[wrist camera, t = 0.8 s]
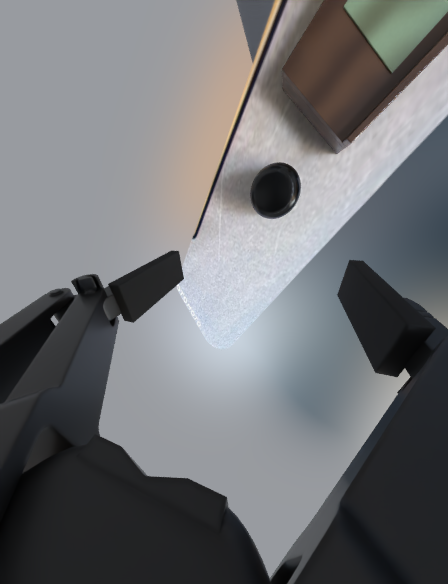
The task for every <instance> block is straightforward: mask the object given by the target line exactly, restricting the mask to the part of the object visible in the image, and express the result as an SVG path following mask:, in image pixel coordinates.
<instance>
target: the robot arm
mask: <svg viewBox="0 0 448 584" xmlns="http://www.w3.org/2000/svg"><path fill="white" fill-rule="evenodd" d="M183 279H184V277H183V272H182V266H181V261H180V255H179V251H170V252H168V253H167V254H165V255H162V256H160V257H159V258H157V259H155V260H153V261H151V262H149V263H147V264H146V265H143V266H141V267H140V268H138V269H136V270H134V271H132V272H130V273H128V274H126V275H124V276H123V277H121V278H119V279H117V280H115V281H113V282H111V283H109V284H108V285H109V286H108V287H106V288H103V285H102V283H101V281H100V279H99V277H98V275H96V274H90V275H84V276H81V277H78V278H76V279H74V280H72V281H71V282H72V284H73V285H74V287H75V289H76V291H77V292H78V295H73V294H72V292H71V290H70V289H68V288H62V289H55V290H52V291H50V292H49V293H47V294H45V295H43V296H42V297H40V298H39V299H37V300H36V301H35V302H33V303H31V304H30V305H29V306H27V307H25V308H24V309H22V310H21V311H20V312H18V313H17V314H15V315H14V316H12V317H10V318H9V319H8V320H6V321H5V322H3V323H2V324H0V584H448V329H447V328H446V327H445V326H444V325H442V324H441V323H440V322H439V321H438V320H437V319H435V318H434V317H433V316H432V315H431V314H430V313H427V311H426V310H425V309H424V308H423V307H421V306H420V305H419V304H417V303H415V302H414V301H412V300H409V299H408V298H402V296H401V295H399V294H398V293H397V292H396V291H395V290H394V289H393V288H392V287H391V286H390V285H389V284H387V283H386V282H385V281H384V280H383V279H382V278H381V277H380V276H379V275H378V274H377V273H375V272H374V271H373V270H372V269H371V268H370V267H369V266H368V265H367V264H366V263H365V262H364V261H356V260H349V263H348V266H347V269H346V271H345V274H344V277H343V280H342V283H341V286H340V289H339V292H338V297H339V299H340V301H341V303H342V305H343V308H344V310H345V312H346V314H347V316H348V318H349V320H350V322H351V324H352V326H353V328H354V330H355V332H356V334H357V336H358V338H359V340H360V342H361V344H362V346H363V348H364V350H365V352H366V355H367V357H368V359H369V361H370V363H371V364H372V367H373V369H374V371H375V372H376V373H379V374H384V375H389V376H394V377H398V376H399V374H400V373H401V372H402V371H403V369H404V368H405V369H406V370H407V372H408V373H409V375H410V376H411V377H410V378H409V380H408V381H407V382H406V383H405V384H404V385H403V387H402V388H401V389H400V390H399V391H398V392H397V393H398V395H397V396H396V398H395V399H394V401H393V402H392V404H391V405H390V407H389V408H388V410H387V411H386V413H385V414H384V415H383V417H382V418H381V420H380V421H379V423H378V424H377V426H376V427H375V429H374V430H373V432H372V433H371V435H370V436H369V438H368V439H367V440H366V442H365V443H364V445H363V446H362V448H361V449H360V451H359V452H358V453H357V455H356V456H355V458H354V459H353V461H352V462H351V464H350V465H349V467H348V468H347V470H346V471H345V473H344V474H343V476H342V477H341V478H340V480H339V481H338V483H337V484H336V486H335V487H334V489H333V490H332V492H331V493H330V495H329V496H328V498H327V499H326V500H325V502H324V503H323V505H322V506H321V508H320V509H319V511H318V512H317V514H316V515H315V516H314V518H313V519H312V521H311V522H310V524H309V525H308V526H307V528H306V529H305V530H304V531H303V533H302V534H301V535H300V536H299V538H298V539H297V541H296V542H295V543H294V544H293V546H292V547H291V549H290V550H289V551H288V553H287V555H286V556H285V557H284V559H283V560H282V562H281V563H280V564H279V566H278V568H277V569H276V570H275V572H274V573H273V575H272V576H271V578H270V579H269V576H268V573H267V571H266V568H265V565H264V563H263V561H262V558H261V556H260V554H259V552H258V550H257V548H256V546H255V544H254V542H253V540H252V538H251V536H250V535H249V533H248V531H247V530H246V528H245V527H244V525H243V524H242V523H241V521H240V520H239V519H238V517H237V516H236V515H235V514H234V513H233V512H232V511H231V510H230V509H229V508H228V502H227V497H225V496H223V495H221V494H219V493H217V492H215V491H213V490H211V489H209V488H207V487H205V486H202V485H200V484H198V483H196V482H194V481H192V480H190V479H188V478H169V477H150V476H147V475H146V474H145V473H144V471H143V470H142V469H141V468H140V467H139V466H138V465H137V464H136V462H135V461H134V460H133V459H132V458H131V457H130V456H129V455H128V453H127V452H126V451H125V450H124V449H123V448H122V447H121V446H119V445H117V444H115V443H113V442H111V441H108V440H106V439H104V438H102V437H100V434H99V429H98V426H99V419H100V414H101V409H102V404H103V399H104V394H105V389H106V384H107V379H108V374H109V369H110V364H111V359H112V353H113V349H114V344H115V339H116V334H117V329H118V323H119V320H118V317H117V316H118V315H120V314H122V316H123V319H124V320H125V321H129V322H135V321H136V320H137V319H138V318H139V317H141V316H142V315H143V314H144V313H145V312H146V311H147V310H149V309H150V308H151V307H152V306H153V305H154V304H156V303H157V302H158V301H159V300H160V299H161V298H162V297H164V296H165V295H166V294H167V293H168V292H169V291H170V290H172V289H173V288H174V287H175V286H176V285H177V284H179V283H180V282H181V281H182V280H183ZM53 315H54V316H55V317H56V319H57V320H58V322H59V323H58V324H57V326H55V325H54V323H53V322H52V321H51V317H52V316H53Z"/></svg>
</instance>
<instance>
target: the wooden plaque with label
mask: <svg viewBox="0 0 448 584" xmlns="http://www.w3.org/2000/svg"><path fill="white" fill-rule="evenodd" d="M447 45H448V0H324V1H323V3H322V5H321V6H320V8H319V10H318V11H317V13H316V14H315V16H314V18H313V19H312V21H311V23H310V24H309V26H308V28H307V29H306V31H305V32H304V34H303V36H302V37H301V39H300V41H299V42H298V44H297V45H296V47H295V49H294V50H293V52H292V54H291V55H290V57H289V59H288V60H287V62H286V63H285V65H284V67H283V68H282V79H283V90H284V92H285V93H286V94H287V95H288V96H289V98H290V99H291V100H292V101H293V102H294V104H295V105H296V106H297V107H298V108H299V110H300V111H301V112H302V113H303V114H304V115H305V117H306V118H307V119H308V120H309V121H310V123H311V124H312V125H313V126H314V127H315V129H316V130H317V131H318V132H319V133H320V135H321V136H322V137H323V138H324V139H325V140H326V142H327V143H328V144H329V145H330V146H331V148H332V149H333V150H334V151H335V152H336V154H337V153H339V152H340V151H341V150H343V149H344V148H346V147H347V146H348V145H350V144H351V143H352V142H353V141H354V140H355V139H356V138H357V137H358V136H359V135H360V134H361V133H362V132H363V131H364V130H365V129H366V128H367V127H368V126H369V125H370V124H371V123H372V122H373V121H374V120H375V119H376V118H377V117H378V116H379V115H380V114H381V113H382V112H383V111H384V110H385V109H386V107H387V106H388V105H389V104H390V103H391V102H392V101H393V100H394V99H395V98H396V97H397V96H398V95H399V94H400V93H401V92H402V91H403V90H404V89H405V88H406V87H407V86H408V85H409V84H410V83H411V82H412V81H413V80H414V79H415V78H416V77H417V76H418V75H419V74H420V73H421V72H422V71H423V70H424V69H425V68H426V67H427V65H428V64H429V63H430V62H431V61H432V60H433V59H434V58H435V57H436V56H437V55H438V54H439V53H440V52H441V51H442V50H443V49H444V48H445V47H446V46H447Z"/></svg>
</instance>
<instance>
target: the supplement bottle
mask: <svg viewBox="0 0 448 584" xmlns="http://www.w3.org/2000/svg"><path fill="white" fill-rule="evenodd" d="M300 191H301V182H300V178H299V175H298V173H297V172H296V170H295V169H294V168H293V167H292V166H290V165H288V164H286V163H280V162H279V163H273V164H270V165H268V166H266V167H264V168H263V169H262V170H261V171H260V172H259V173H258V174H257V176H256V177H255V179H254V181H253V183H252V186H251V191H250V198H251V203H252V206H253V208H254V209H255V211H256V212H257V213H258V214H259V215H261V216H262V217H264V218H268V219H276V218H280V217H282V216H284V215H286V214H287V213H288V212H290V211H291V210H292V208H293V207H294V206H295V204H296V203H297V201H298V198H299V195H300Z"/></svg>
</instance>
